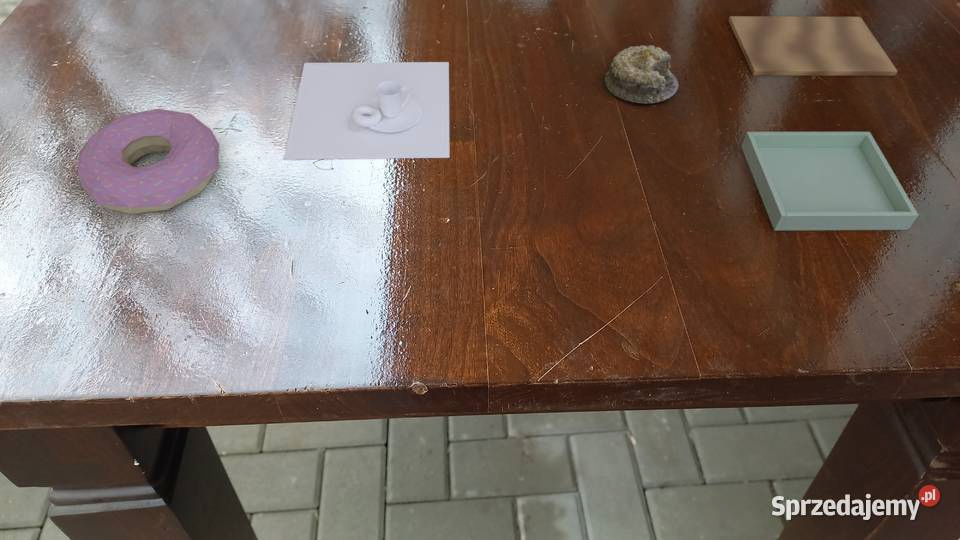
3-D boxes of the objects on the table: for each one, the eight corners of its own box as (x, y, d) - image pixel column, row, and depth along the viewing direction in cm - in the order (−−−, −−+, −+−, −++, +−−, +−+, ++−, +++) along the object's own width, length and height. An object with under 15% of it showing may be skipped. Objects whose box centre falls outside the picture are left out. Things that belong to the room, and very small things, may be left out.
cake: (601, 105, 92) (604, 70, 88) (605, 63, 98) (608, 28, 94) (678, 109, 90) (685, 73, 86) (678, 66, 97) (684, 31, 92)
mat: (858, 21, 105) (860, 16, 104) (895, 75, 96) (898, 71, 96) (728, 20, 105) (729, 16, 104) (753, 75, 96) (754, 70, 95)
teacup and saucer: (351, 135, 86) (347, 108, 83) (356, 96, 91) (352, 69, 88) (421, 134, 87) (420, 108, 83) (423, 95, 92) (421, 69, 88)
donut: (79, 156, 83) (60, 123, 79) (207, 120, 88) (195, 86, 84) (101, 242, 74) (81, 209, 71) (241, 196, 79) (229, 163, 75)
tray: (861, 146, 86) (869, 131, 85) (908, 230, 77) (919, 215, 76) (740, 146, 86) (747, 131, 84) (774, 230, 77) (781, 215, 75)
